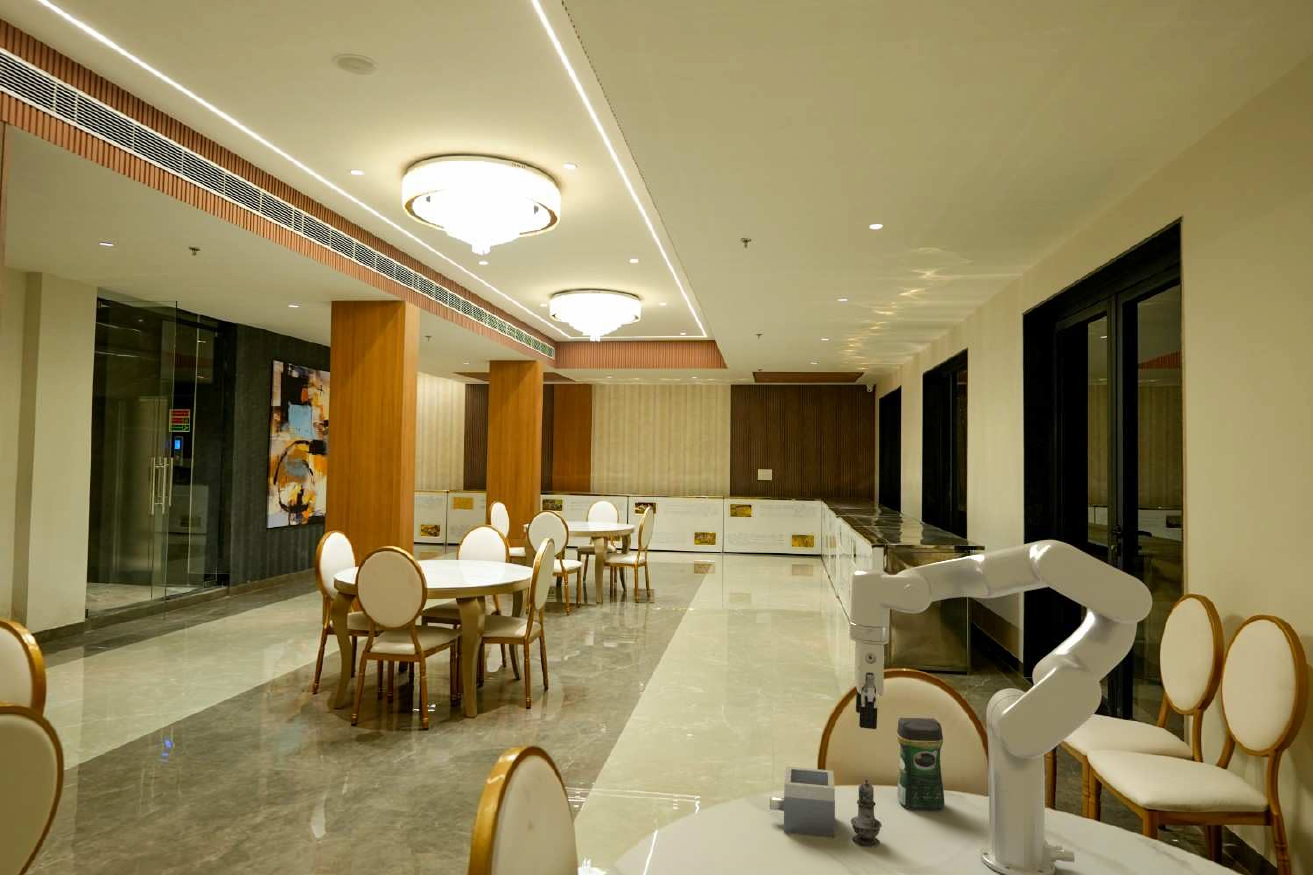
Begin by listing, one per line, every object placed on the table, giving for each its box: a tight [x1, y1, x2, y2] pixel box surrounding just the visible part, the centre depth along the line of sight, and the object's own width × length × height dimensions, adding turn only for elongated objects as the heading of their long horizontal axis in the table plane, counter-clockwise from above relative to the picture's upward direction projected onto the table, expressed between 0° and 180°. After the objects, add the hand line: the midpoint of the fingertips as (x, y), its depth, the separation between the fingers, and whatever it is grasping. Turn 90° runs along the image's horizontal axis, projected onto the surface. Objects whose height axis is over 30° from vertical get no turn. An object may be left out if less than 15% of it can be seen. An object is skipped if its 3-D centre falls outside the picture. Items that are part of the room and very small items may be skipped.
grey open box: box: [769, 766, 836, 839], centre depth 161 cm, size 13×12×10 cm
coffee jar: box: [896, 717, 945, 811], centre depth 171 cm, size 10×8×19 cm
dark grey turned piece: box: [850, 778, 883, 849], centre depth 152 cm, size 6×6×12 cm
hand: (865, 720), depth 153 cm, fingers open, 9 cm apart
